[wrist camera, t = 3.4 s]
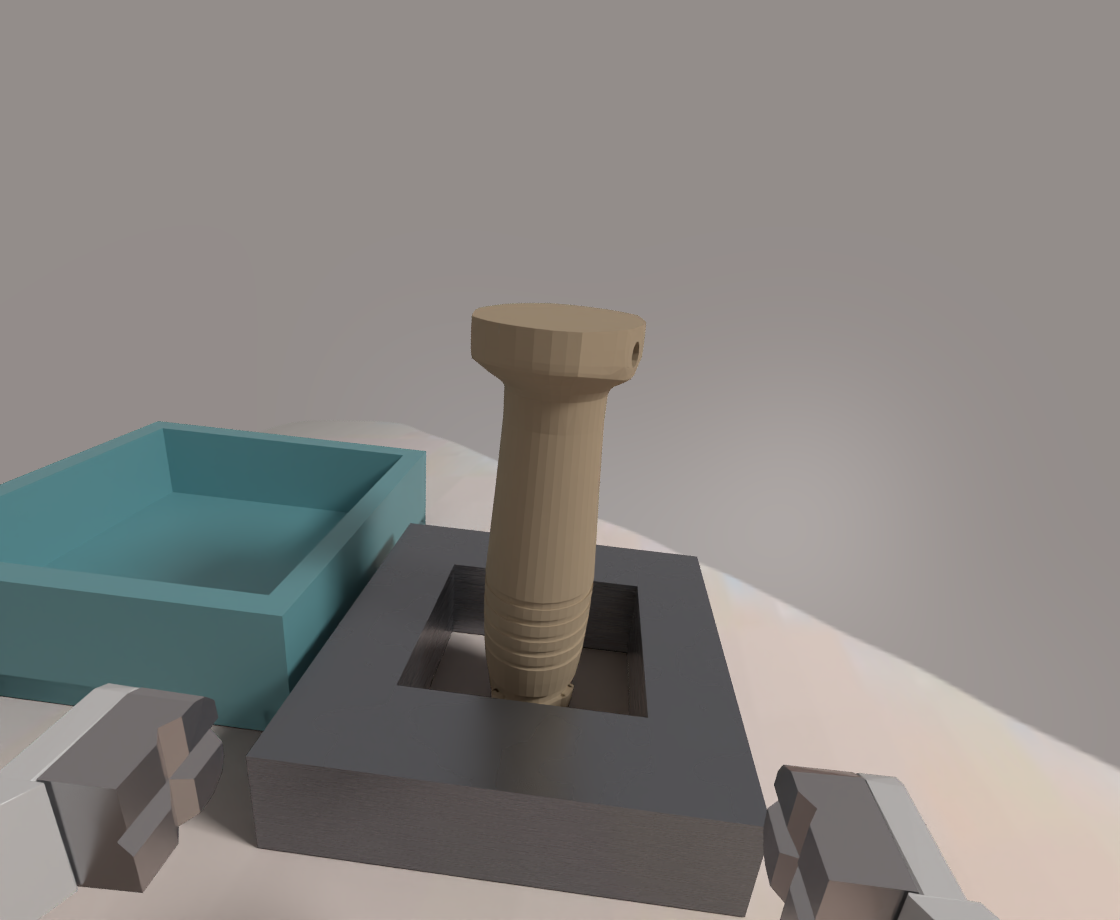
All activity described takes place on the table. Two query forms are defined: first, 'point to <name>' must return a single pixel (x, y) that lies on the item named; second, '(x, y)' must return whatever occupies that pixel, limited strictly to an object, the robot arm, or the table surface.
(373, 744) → the socket block
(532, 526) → the handle
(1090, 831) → the table surface
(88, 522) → the bin
